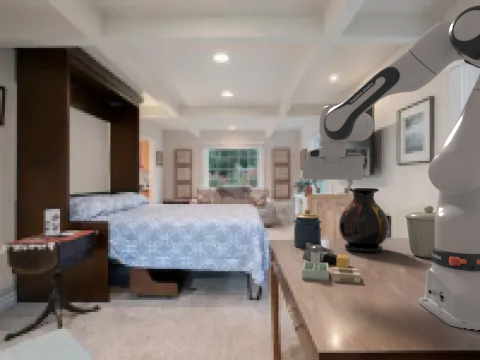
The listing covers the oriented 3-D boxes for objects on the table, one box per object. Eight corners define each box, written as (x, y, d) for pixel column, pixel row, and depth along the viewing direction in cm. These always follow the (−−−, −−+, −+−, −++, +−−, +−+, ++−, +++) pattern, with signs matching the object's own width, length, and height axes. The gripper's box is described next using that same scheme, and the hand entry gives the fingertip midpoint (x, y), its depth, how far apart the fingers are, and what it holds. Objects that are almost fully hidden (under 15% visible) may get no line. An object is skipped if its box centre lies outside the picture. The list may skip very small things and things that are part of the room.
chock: (348, 269, 124) (348, 258, 124) (336, 268, 125) (336, 257, 125) (349, 266, 129) (349, 255, 129) (338, 264, 131) (338, 254, 131)
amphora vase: (395, 256, 146) (395, 188, 146) (341, 254, 149) (342, 188, 149) (382, 246, 167) (382, 187, 167) (336, 244, 171) (336, 187, 171)
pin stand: (360, 283, 107) (360, 275, 107) (333, 281, 109) (333, 273, 109) (357, 276, 115) (357, 268, 115) (332, 274, 117) (332, 267, 117)
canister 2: (455, 255, 148) (455, 205, 148) (452, 263, 133) (452, 208, 133) (408, 250, 158) (408, 203, 158) (401, 257, 144) (401, 205, 144)
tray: (328, 280, 110) (328, 271, 110) (302, 279, 112) (302, 269, 112) (327, 271, 121) (328, 263, 121) (303, 270, 123) (303, 261, 123)
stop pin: (321, 275, 114) (321, 248, 114) (309, 274, 115) (309, 247, 115) (321, 272, 118) (321, 246, 118) (309, 271, 118) (309, 245, 118)
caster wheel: (339, 268, 135) (327, 269, 127) (314, 258, 142) (301, 258, 135) (343, 252, 135) (332, 252, 127) (318, 242, 142) (306, 242, 135)
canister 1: (291, 247, 164) (291, 209, 164) (295, 242, 176) (295, 207, 176) (320, 249, 160) (320, 210, 160) (322, 244, 172) (322, 208, 172)
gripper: (363, 152, 120) (363, 193, 121) (303, 153, 125) (302, 192, 125) (365, 151, 114) (365, 193, 114) (302, 152, 119) (302, 193, 119)
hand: (332, 193), depth 120 cm, fingers open, 8 cm apart
